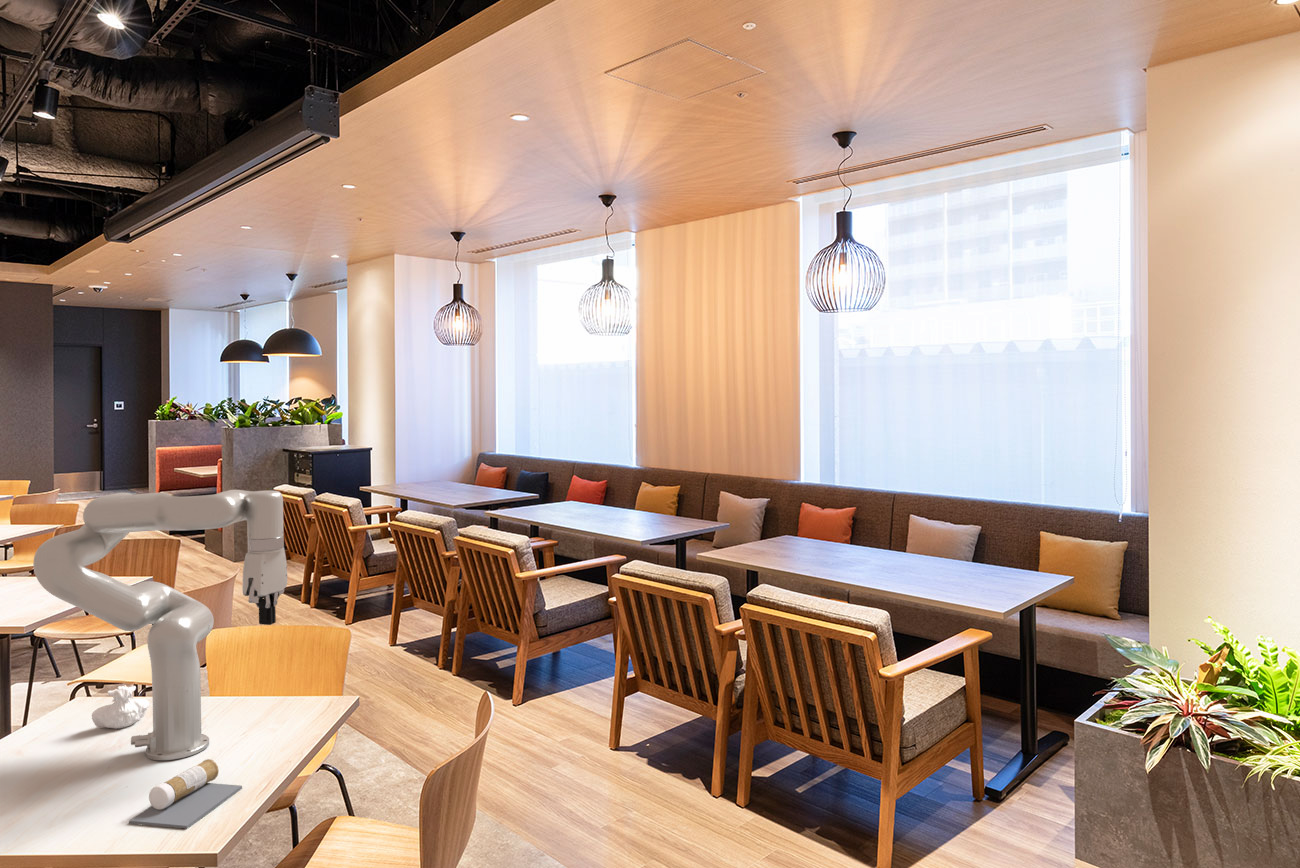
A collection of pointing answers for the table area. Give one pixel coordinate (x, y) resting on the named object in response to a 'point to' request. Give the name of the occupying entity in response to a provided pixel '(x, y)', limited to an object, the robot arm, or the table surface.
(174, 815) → the mat
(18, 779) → the table surface
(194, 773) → the sprinkles bottle
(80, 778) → the table surface
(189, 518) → the robot arm
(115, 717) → the white tied bag
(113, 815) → the table surface
